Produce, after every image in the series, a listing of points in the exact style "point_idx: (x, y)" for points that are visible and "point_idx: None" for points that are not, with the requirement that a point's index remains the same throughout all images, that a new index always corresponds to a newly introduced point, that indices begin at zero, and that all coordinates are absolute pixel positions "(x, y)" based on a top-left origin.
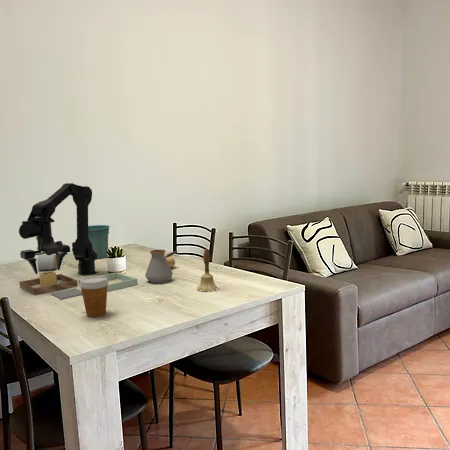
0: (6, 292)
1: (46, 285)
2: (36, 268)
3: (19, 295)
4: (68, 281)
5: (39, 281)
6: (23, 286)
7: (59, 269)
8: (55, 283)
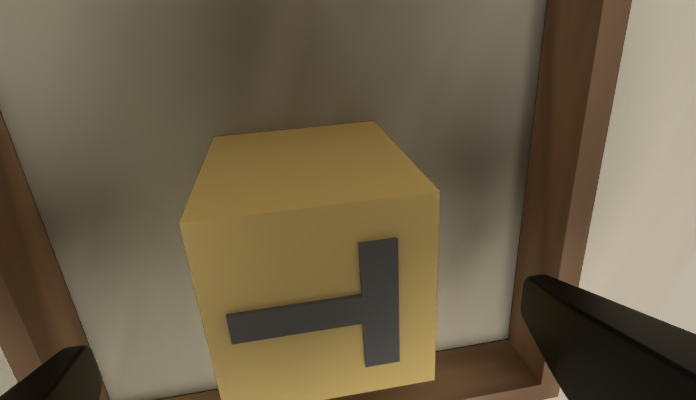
0: (672, 264)
1: (362, 134)
2: (629, 332)
3: (677, 55)
4: (15, 207)
5: None
6: None
7: (59, 351)
8: (228, 150)
